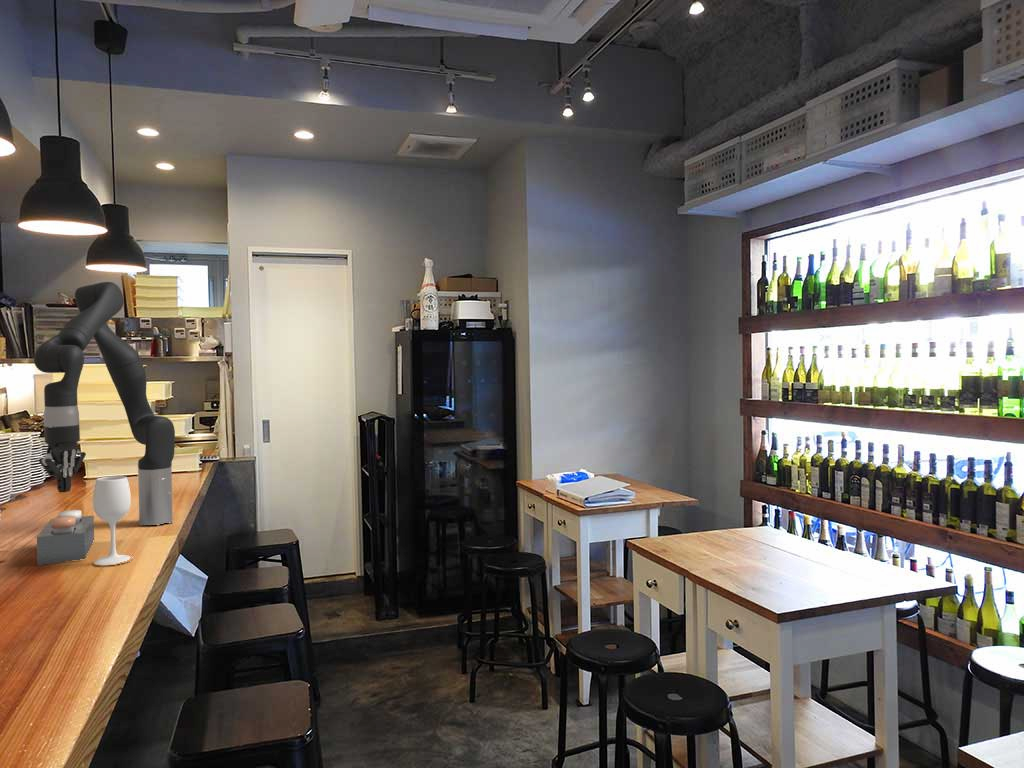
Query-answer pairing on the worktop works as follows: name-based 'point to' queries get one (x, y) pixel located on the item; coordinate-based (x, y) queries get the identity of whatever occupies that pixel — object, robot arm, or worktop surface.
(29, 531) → the worktop surface
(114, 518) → the wineglass
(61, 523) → the plunger
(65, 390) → the robot arm
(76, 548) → the plunger panel
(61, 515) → the white ball knob
